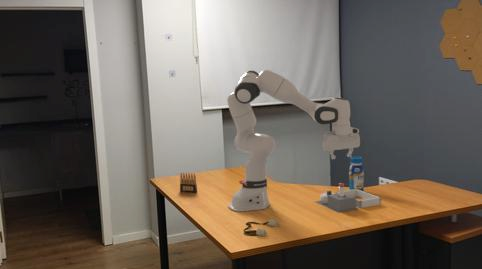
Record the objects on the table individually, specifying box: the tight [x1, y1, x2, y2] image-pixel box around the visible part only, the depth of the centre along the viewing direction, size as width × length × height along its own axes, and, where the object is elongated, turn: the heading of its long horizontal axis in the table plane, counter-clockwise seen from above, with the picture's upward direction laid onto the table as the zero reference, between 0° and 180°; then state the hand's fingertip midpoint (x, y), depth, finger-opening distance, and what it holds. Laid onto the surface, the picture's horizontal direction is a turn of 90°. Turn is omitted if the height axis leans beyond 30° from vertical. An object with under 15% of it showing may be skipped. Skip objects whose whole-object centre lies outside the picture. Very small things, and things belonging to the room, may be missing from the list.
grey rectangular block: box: [315, 190, 359, 214], centre depth 240 cm, size 12×22×8 cm, turn 24°
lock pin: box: [338, 182, 345, 197], centre depth 235 cm, size 2×2×12 cm
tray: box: [336, 189, 382, 209], centre depth 246 cm, size 13×20×5 cm, turn 24°
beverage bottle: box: [348, 156, 365, 192], centre depth 270 cm, size 8×8×20 cm
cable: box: [242, 218, 280, 237], centre depth 214 cm, size 16×16×4 cm
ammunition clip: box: [179, 172, 198, 194], centre depth 282 cm, size 11×2×12 cm, turn 71°
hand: (341, 157), depth 232 cm, fingers open, 8 cm apart
